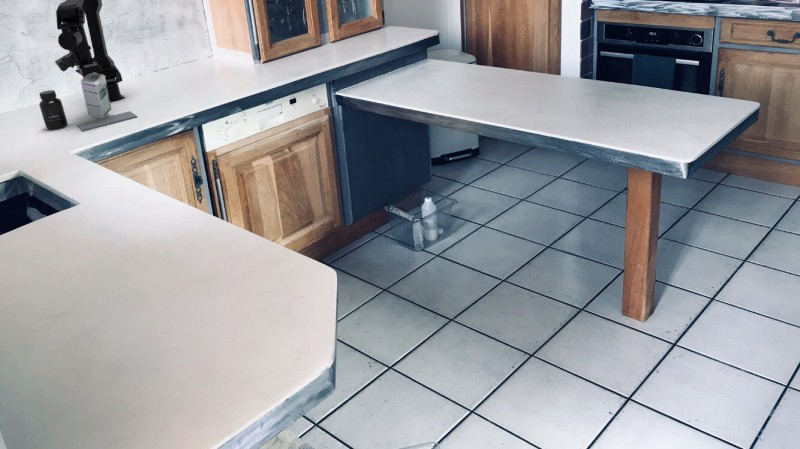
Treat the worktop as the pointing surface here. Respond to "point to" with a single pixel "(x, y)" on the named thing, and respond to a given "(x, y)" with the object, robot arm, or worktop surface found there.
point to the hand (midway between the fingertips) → (92, 90)
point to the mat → (106, 121)
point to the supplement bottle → (52, 111)
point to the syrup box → (96, 95)
